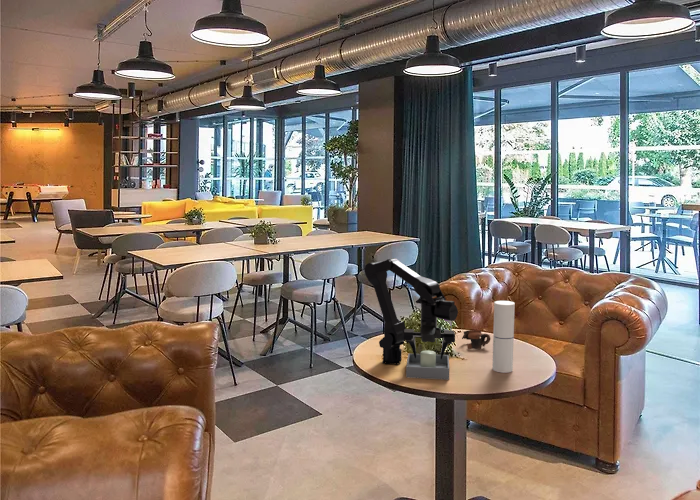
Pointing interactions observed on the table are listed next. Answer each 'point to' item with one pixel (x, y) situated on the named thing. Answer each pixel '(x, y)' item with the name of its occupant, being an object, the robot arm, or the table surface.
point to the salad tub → (428, 359)
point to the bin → (427, 368)
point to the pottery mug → (476, 339)
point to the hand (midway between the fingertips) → (428, 358)
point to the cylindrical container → (503, 336)
